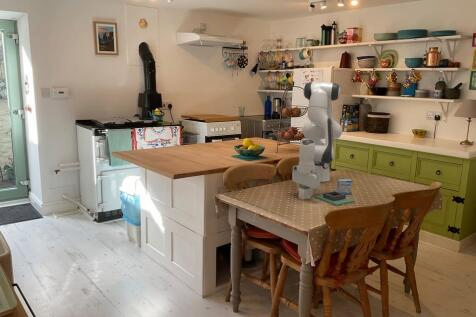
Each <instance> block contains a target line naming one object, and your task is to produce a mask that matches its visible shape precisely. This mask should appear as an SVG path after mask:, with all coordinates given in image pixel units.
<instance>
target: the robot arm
mask: <svg viewBox="0 0 476 317" xmlns="http://www.w3.org/2000/svg"><path fill="white" fill-rule="evenodd" d="M340 86H341V85H340V84H338V83H336V82H328V81H327V82H326V81H322V82H321V81H315V82H314V81H309V82H307V83H305V85H304V87H303V89H302V90H303V96H304V98H305V99H307V100H308V106H307V117H308V118H307V119H308V120H309V121H310V122H306V123H305V124H303V127H302V134H303V136H304V137H305V138H306V139H304V140H302V141H301V142H300V145H299V146H300V147H299V152H298V153H299V154H298V159H299V161H298V164H297V165H293V166H292V176H291V178H292V182H294V183H296V185H297V191H299V188H300V186H301V185H302V186H308V187H310V189H311V190H310V191H309V195H311V196H312V195H313V196H314V191H315V189H316V190H317V189H320V187H321V182H324V183H325V182H329V181H331V175H330V164H331V162H332V161H334V159H335V149H334V140H337V139H339V138H340V137H341V136H342V134H343V128H342V125H341V124H339V123H338V122H337V121H336V120H335V119H334V117H333V102H334V101H337V100H338V99H339V98H340V95H341V92H342V91H341V87H340ZM321 140H324V142H325V143H323V142H322V141H321Z"/></svg>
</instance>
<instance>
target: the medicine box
mask: <svg viewBox="0 0 476 317" xmlns="http://www.w3.org/2000/svg"><path fill="white" fill-rule="evenodd" d="M335 191H336V192H339V193H342V194H345V195H346V196H347V195H348V196H349V195H352V192H353V180H352V179H350V178H347V179H345V178H344V179H343V178H342V179H336V190H335Z"/></svg>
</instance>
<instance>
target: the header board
mask: <svg viewBox="0 0 476 317" xmlns="http://www.w3.org/2000/svg"><path fill="white" fill-rule="evenodd" d="M313 199H317V200H319V201H322V202H324V203H327V204H329V205H333V206H335V207H340V206H344V205H349V204H354V203H355V202H356V200H354V199H352V198H348V197H347V195H345V194H342V193H339V192H336V190H333V191H327V192H323V193H322V194H317V195H313ZM348 203H349V204H348ZM343 204H344V205H343ZM339 205H340V206H339Z"/></svg>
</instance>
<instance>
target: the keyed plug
mask: <svg viewBox="0 0 476 317" xmlns="http://www.w3.org/2000/svg"><path fill="white" fill-rule="evenodd" d="M310 190H311V189H310V187H308V186H305V185H302V186H300V188H299V190H298V199H301V200H308V199H312V195H309V191H310Z"/></svg>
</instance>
